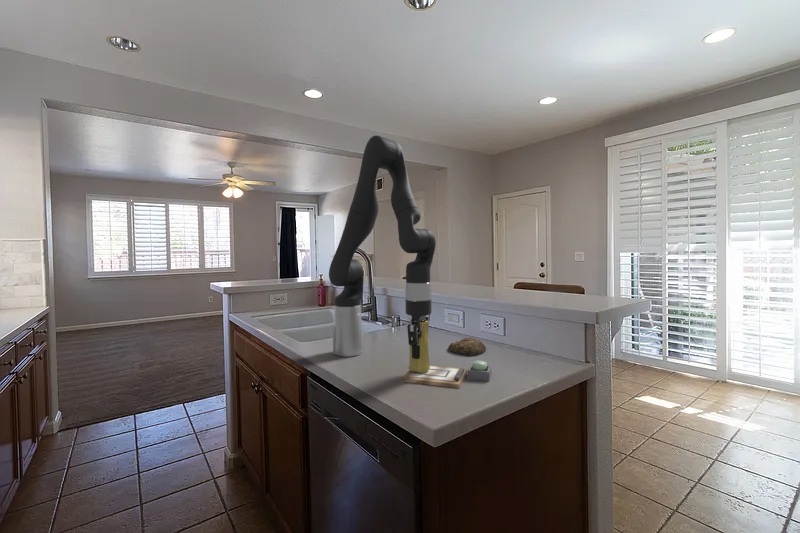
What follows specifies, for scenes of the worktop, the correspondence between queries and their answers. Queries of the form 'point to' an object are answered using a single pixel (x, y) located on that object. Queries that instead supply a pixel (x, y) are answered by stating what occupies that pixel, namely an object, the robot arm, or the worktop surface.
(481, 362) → the button
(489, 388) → the worktop surface
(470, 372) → the button housing
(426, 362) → the vase
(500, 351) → the worktop surface
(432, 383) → the clipboard
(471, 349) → the bread roll
